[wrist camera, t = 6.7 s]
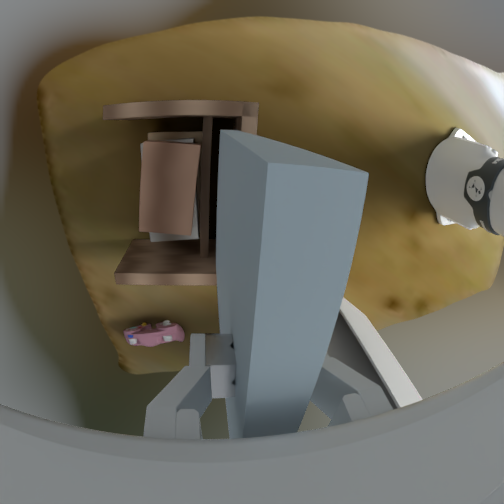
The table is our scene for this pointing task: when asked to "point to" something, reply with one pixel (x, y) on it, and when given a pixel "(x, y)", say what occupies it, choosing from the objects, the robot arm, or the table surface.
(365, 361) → the brochure
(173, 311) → the table surface
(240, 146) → the sheet
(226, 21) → the table surface
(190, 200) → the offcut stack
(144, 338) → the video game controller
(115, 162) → the table surface
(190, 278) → the rack
